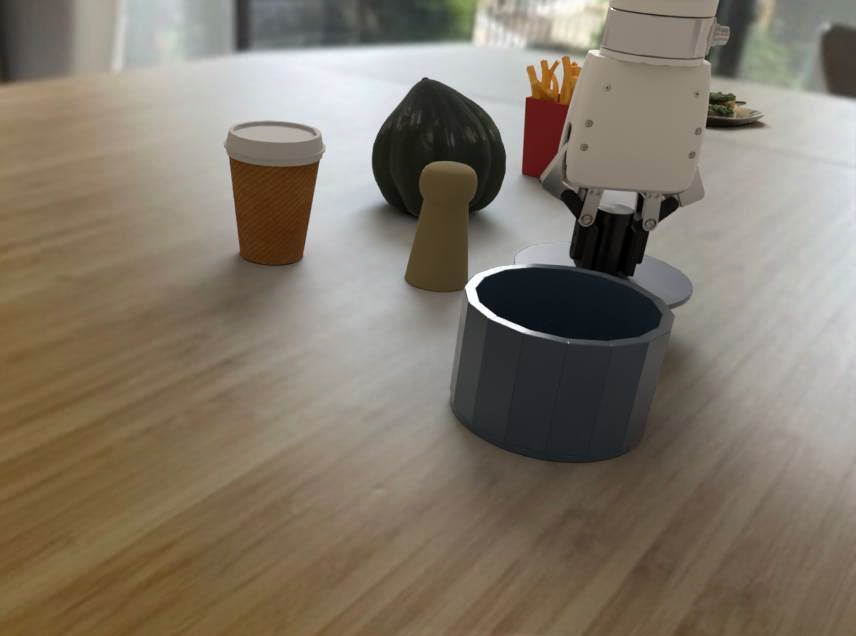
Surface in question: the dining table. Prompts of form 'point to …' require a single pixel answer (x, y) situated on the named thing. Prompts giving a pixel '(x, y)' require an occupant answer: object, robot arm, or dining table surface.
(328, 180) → the dining table surface
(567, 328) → the tin
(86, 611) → the dining table surface
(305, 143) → the disposable coffee cup
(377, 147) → the squash
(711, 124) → the salad plate
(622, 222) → the tin lid
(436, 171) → the cork
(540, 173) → the french fries
